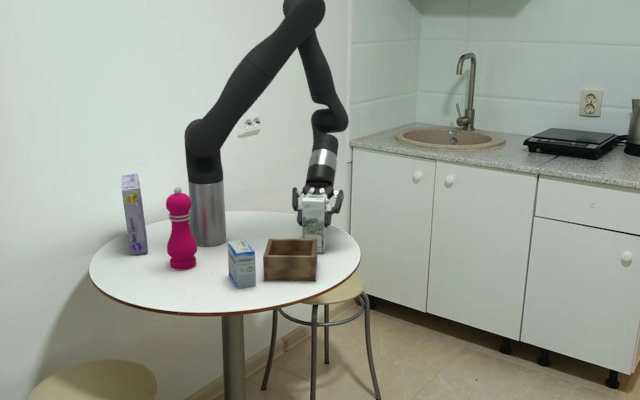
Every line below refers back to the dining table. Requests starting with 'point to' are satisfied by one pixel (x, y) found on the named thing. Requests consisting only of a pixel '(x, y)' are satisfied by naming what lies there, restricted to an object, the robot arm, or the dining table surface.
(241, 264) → the medicine box
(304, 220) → the syrup box
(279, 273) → the open wooden box
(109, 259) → the dining table surface
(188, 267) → the pepper mill
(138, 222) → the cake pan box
